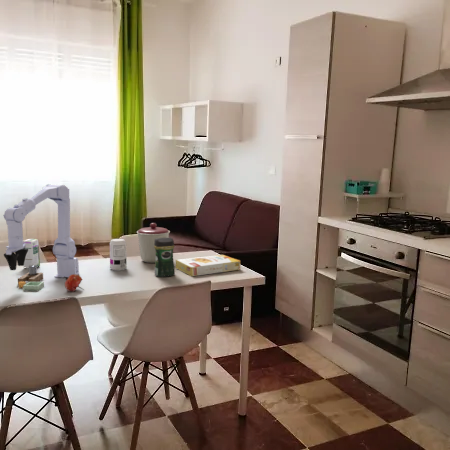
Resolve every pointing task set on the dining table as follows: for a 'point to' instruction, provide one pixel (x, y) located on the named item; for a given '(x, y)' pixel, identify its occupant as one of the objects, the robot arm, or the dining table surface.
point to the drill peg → (32, 270)
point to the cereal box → (207, 265)
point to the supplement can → (118, 254)
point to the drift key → (22, 284)
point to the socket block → (31, 278)
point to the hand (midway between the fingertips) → (17, 267)
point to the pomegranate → (72, 282)
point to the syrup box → (32, 253)
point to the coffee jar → (164, 257)
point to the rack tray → (33, 286)
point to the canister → (150, 241)
